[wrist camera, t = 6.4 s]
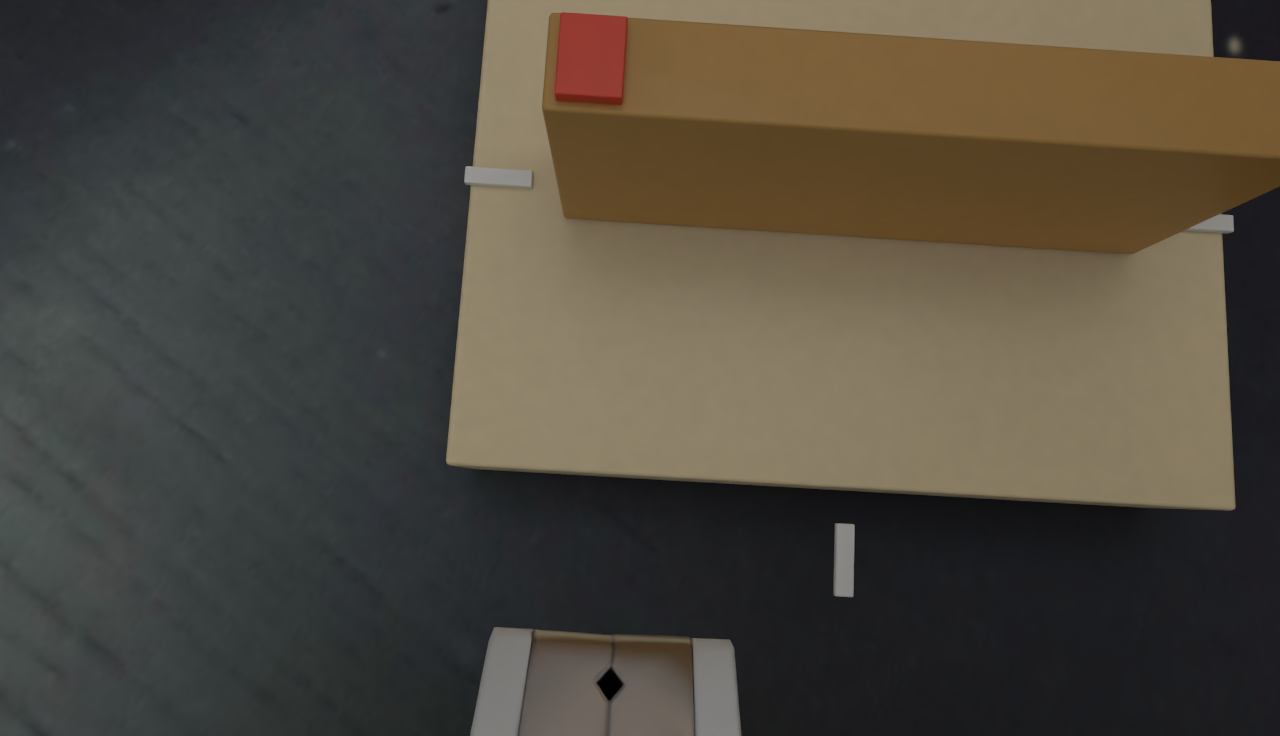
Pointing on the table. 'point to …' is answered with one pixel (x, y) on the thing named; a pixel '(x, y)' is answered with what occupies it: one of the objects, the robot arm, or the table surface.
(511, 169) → the dial panel
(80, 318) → the table surface
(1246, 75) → the pointer
